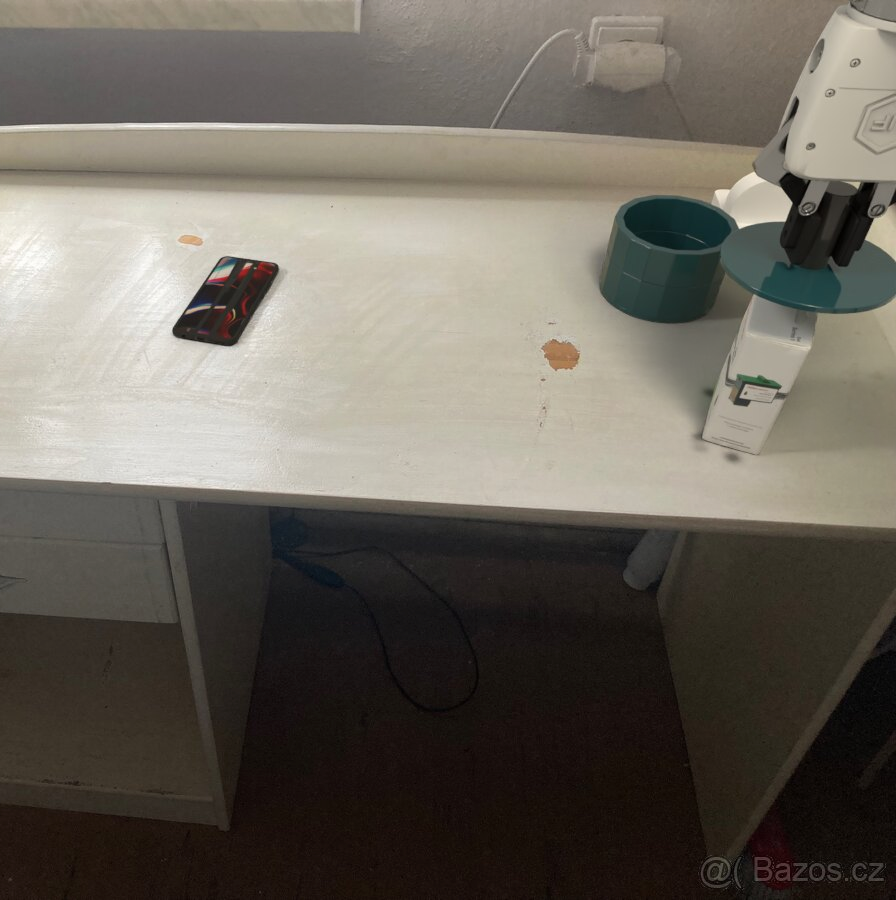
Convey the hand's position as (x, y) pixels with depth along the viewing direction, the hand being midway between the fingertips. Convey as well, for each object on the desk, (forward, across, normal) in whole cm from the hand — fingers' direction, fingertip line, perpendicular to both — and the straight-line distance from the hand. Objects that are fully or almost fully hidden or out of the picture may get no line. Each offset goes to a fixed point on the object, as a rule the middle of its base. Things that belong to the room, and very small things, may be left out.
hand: (814, 254), depth 65 cm
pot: (+17, -5, +20) cm, 27 cm away
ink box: (+17, 0, 0) cm, 17 cm away
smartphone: (+16, -50, +13) cm, 54 cm away
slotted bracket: (+17, +7, +32) cm, 37 cm away
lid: (+1, 0, 0) cm, 1 cm away
